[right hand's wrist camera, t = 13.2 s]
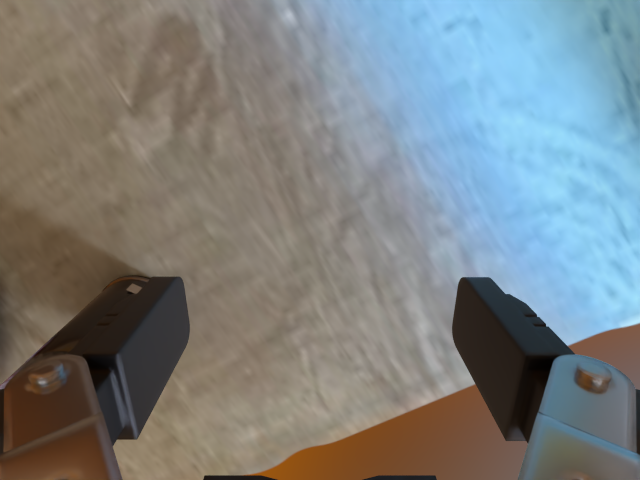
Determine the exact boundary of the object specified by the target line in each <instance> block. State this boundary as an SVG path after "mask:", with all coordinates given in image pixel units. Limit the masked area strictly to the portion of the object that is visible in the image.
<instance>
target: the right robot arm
mask: <svg viewBox="0 0 640 480" xmlns="http://www.w3.org/2000/svg"><path fill="white" fill-rule="evenodd" d="M189 332H190V324H189V317H188V310H187V303H186V296H185V289H184V283H183V280H182V278H181V277H152V278H151V279H148V278H145V277H140V276H126V277H121V278H119V279H116V280H114V281H113V282H111V283H110V284H109V285H108V286H107V287H106V288H105V289H104V290H103V291H102V293H100V294H99V295H98V296H97V297H96V298H95V299H94V300H93V301H91V302H90V303H89V304H88V305H87V306H86V307H85V308H84V309H83V310H82V311H81V312H79V313H78V314H77V315H76V316H75V317H74V318H73V319H72V320H71V321H70V322H69V323H67V324H66V325H65V326H64V327H63V328H62V329H61V330H60V331H59V332H58V333H57V334H55V335H54V336H53V337H52V338H51V339H50V340H49V341H48V342H47V343H46V344H45V345H43V346H42V347H41V348H40V349H39V350H38V351H37V352H36V353H35V354H34V355H33V356H31V357H30V358H29V359H28V360H27V361H26V362H25V363H24V364H23V365H22V366H21V367H20V368H19V369H18V370H16V371H15V372H14V373H13V374H12V375H11V376H10V377H9V378H8V379H7V380H6V381H4V382H3V383H2V384H1V385H0V480H122V477H121V473H120V470H119V467H118V463H117V460H116V456H115V453H114V450H113V445H114V443H115V442H116V440H117V439H137V438H138V437H139V435H140V433H141V431H142V429H143V427H144V425H145V423H146V421H147V419H148V418H149V416H150V414H151V412H152V410H153V408H154V406H155V404H156V402H157V400H158V399H159V397H160V395H161V393H162V391H163V389H164V387H165V385H166V383H167V382H168V380H169V378H170V376H171V374H172V372H173V370H174V368H175V366H176V364H177V363H178V361H179V359H180V357H181V355H182V353H183V351H184V349H185V347H186V345H187V343H188V339H189ZM452 333H453V340H454V343H455V346H456V348H457V350H458V352H459V354H460V355H461V357H462V359H463V361H464V363H465V365H466V367H467V369H468V370H469V372H470V374H471V376H472V378H473V380H474V382H475V384H476V385H477V387H478V389H479V391H480V393H481V395H482V397H483V399H484V401H485V402H486V404H487V406H488V408H489V410H490V412H491V413H492V416H493V417H494V419H495V421H496V423H497V425H498V427H499V429H500V430H501V432H502V434H503V436H504V438H505V440H506V441H527V443H528V446H527V450H526V453H525V456H524V460H523V463H522V467H521V470H520V473H519V477H518V480H640V390H637V389H635V387H634V385H633V383H632V382H631V380H630V379H629V378H628V377H627V376H626V375H625V374H623V373H622V372H621V371H619V370H618V369H616V368H614V367H613V366H611V365H609V364H607V363H605V362H602V361H600V360H597V359H594V358H591V357H587V356H582V355H575V354H574V353H573V351H572V350H571V349H570V348H569V347H568V346H567V345H566V344H565V343H564V342H563V341H562V340H561V339H560V338H559V337H558V336H557V335H556V334H555V333H554V332H553V331H552V330H551V329H550V328H549V327H546V324H545V323H544V322H543V321H542V320H541V319H540V318H539V317H537V314H536V313H535V312H534V311H533V310H532V309H531V308H530V307H529V306H528V305H527V304H526V303H524V302H522V301H520V300H519V299H517V298H515V297H513V296H512V295H510V294H505V293H504V292H503V291H502V290H501V289H500V288H499V287H498V286H497V284H496V283H495V282H494V281H493V280H492V279H491V278H489V277H463V278H461V279H460V281H459V284H458V290H457V297H456V304H455V310H454V317H453V325H452ZM203 480H276V479H272V478H269V477H265V476H204V479H203ZM364 480H437V479H436V476H375V477H371V478H368V479H364Z"/></svg>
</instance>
